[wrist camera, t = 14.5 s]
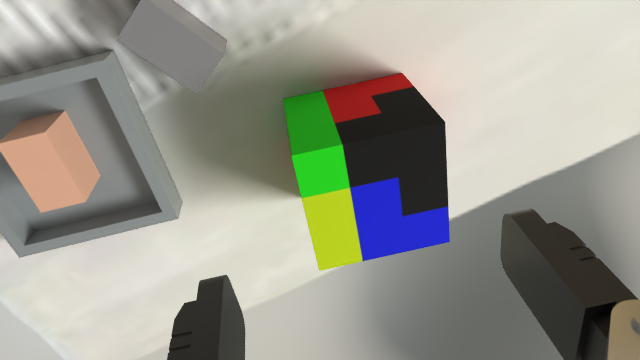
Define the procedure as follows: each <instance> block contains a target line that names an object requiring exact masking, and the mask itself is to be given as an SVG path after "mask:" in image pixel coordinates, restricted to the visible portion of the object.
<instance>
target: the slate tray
mask: <svg viewBox="0 0 640 360" xmlns="http://www.w3.org/2000/svg"><path fill="white" fill-rule="evenodd" d="M61 111H66V113H67V115H68V117H69V118H70V120H71V122H72V124H73V126H74V128H75V129H76V131H77V133H78V135H79V137H80V139H81V140H82V142H83V144H84V146H85V148H86V150H87V151H88V153H89V155H90V157H91V159H92V161H93V162H94V164H95V166H96V168H97V170H98V172H99V173H100V175H101V176H100V178H99V179H98V181H97V183H96V185H95V186H94V188H93V190H92V192H91V193H90V195H89V197H88V199H87V200H86V202H83V203H79V204H75V205H71V206H67V207H63V208H58V209H54V210H50V211H46V212H42V213H41V212H40V210H39V209H38V207H37V206H36V204H35V203H34V201H33V200H32V198H31V197H30V195H29V194H28V192H27V191H26V189H25V188H24V186H23V185H22V183H21V182H20V180H19V179H18V177H17V176H16V174H15V173H14V171H13V170H12V168H11V167H10V165H9V164H8V162H7V161H6V159H5V158H4V156H3V155H2V153H1V152H0V232H1V234H2V235H3V236H4V238H5V239H6V240H7V242H8V243H9V244H10V246H11V247H12V248H13V250H14V251H15V252H16V254H17V255H18V256H19V258H20V257H24V256H28V255H32V254H36V253H40V252H44V251H48V250H52V249H56V248H60V247H65V246H69V245H73V244H77V243H81V242H85V241H89V240H93V239H97V238H101V237H105V236H109V235H113V234H118V233H122V232H126V231H130V230H134V229H138V228H142V227H146V226H150V225H154V224H158V223H162V222H167V221H171V220H175V219H178V218H179V214H180V210H181V206H182V200H181V197H180V195H179V193H178V191H177V189H176V186H175V184H174V182H173V180H172V178H171V175H170V173H169V171H168V169H167V166H166V164H165V162H164V160H163V158H162V155H161V153H160V151H159V149H158V147H157V144H156V142H155V140H154V138H153V136H152V133H151V131H150V129H149V127H148V125H147V122H146V120H145V118H144V116H143V114H142V111H141V109H140V107H139V105H138V103H137V100H136V98H135V96H134V94H133V92H132V89H131V87H130V85H129V83H128V80H127V78H126V76H125V74H124V72H123V69H122V67H121V65H120V63H119V61H118V58H117V56H116V54H115V52H114V50H112V51H108V52H104V53H100V54H96V55H92V56H88V57H84V58H80V59H76V60H72V61H68V62H64V63H60V64H56V65H52V66H48V67H44V68H40V69H35V70H31V71H27V72H23V73H19V74H15V75H11V76H7V77H3V78H0V140H1V139H2V138H3V137H4V136H5V135H6V134H8V133H9V132H10V131H11V130H12V129H13V128H14V127H15V126H16V125H17V124H18V123H19V122H21V121H24V120H28V119H32V118H36V117H40V116H44V115H48V114H52V113H57V112H61Z"/></svg>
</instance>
